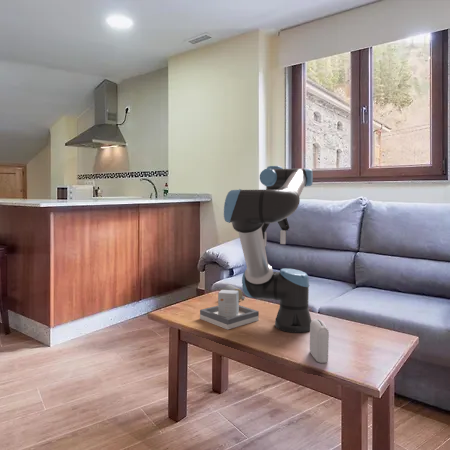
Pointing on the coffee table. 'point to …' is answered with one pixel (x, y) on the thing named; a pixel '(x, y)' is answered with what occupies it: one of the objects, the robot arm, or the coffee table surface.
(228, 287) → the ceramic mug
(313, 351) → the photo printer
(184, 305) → the coffee table surface
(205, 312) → the square gray-rimmed holder
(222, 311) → the small box
